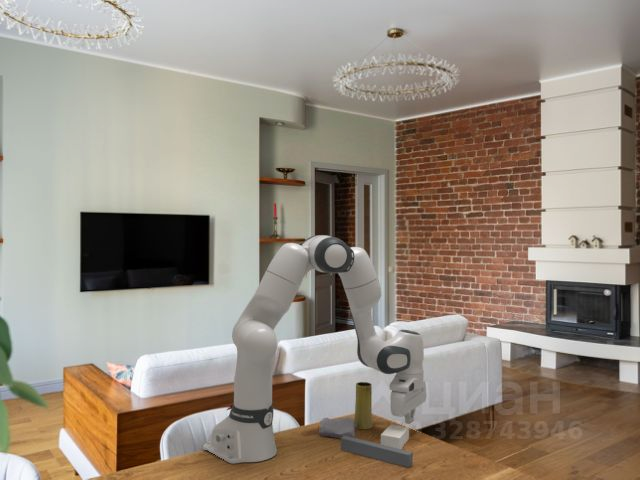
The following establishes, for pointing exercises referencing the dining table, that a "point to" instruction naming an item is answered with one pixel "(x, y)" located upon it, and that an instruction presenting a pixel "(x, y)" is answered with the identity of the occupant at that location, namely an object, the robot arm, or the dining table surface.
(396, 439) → the offwhite block
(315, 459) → the dining table surface
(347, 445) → the charcoal board
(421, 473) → the dining table surface
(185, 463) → the dining table surface
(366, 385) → the vase
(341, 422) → the stone block
